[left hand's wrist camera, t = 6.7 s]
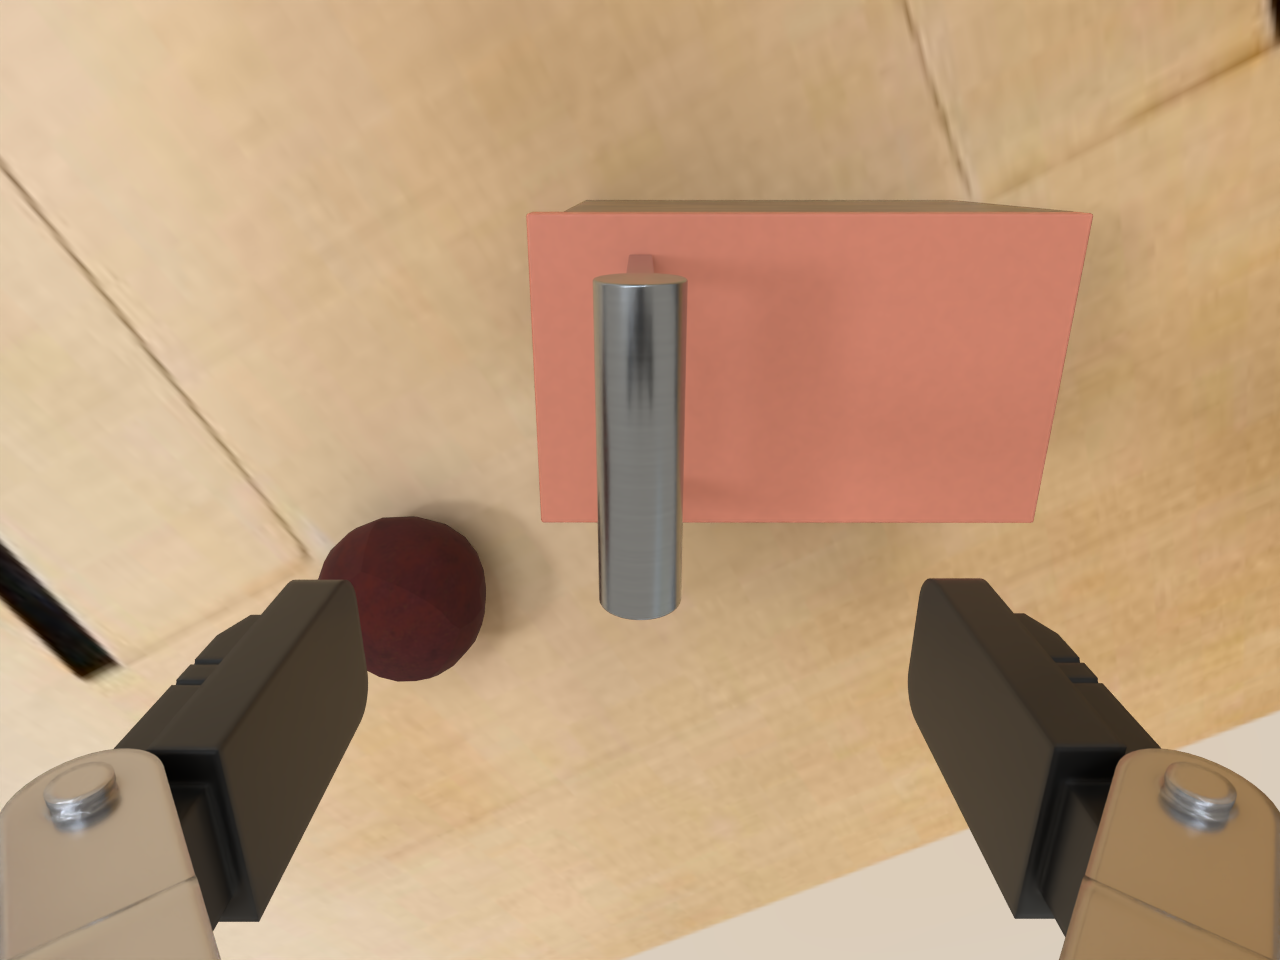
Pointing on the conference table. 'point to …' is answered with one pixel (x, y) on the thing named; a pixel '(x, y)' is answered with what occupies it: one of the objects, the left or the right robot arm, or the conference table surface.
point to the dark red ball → (411, 594)
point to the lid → (791, 372)
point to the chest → (792, 206)
